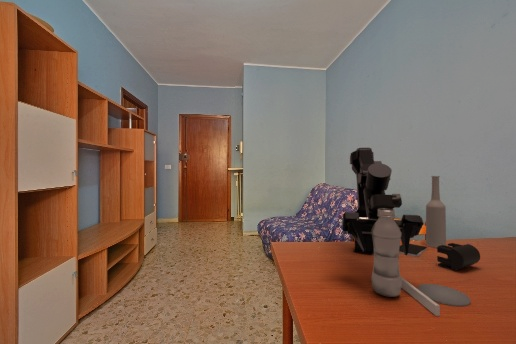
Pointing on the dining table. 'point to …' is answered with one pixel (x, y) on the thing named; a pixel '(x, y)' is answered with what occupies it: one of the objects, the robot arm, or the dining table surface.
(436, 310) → the frosted wall
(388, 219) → the plastic bottle
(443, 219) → the bottle
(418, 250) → the smartphone
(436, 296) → the slate mat
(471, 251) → the end cap
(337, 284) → the dining table surface
